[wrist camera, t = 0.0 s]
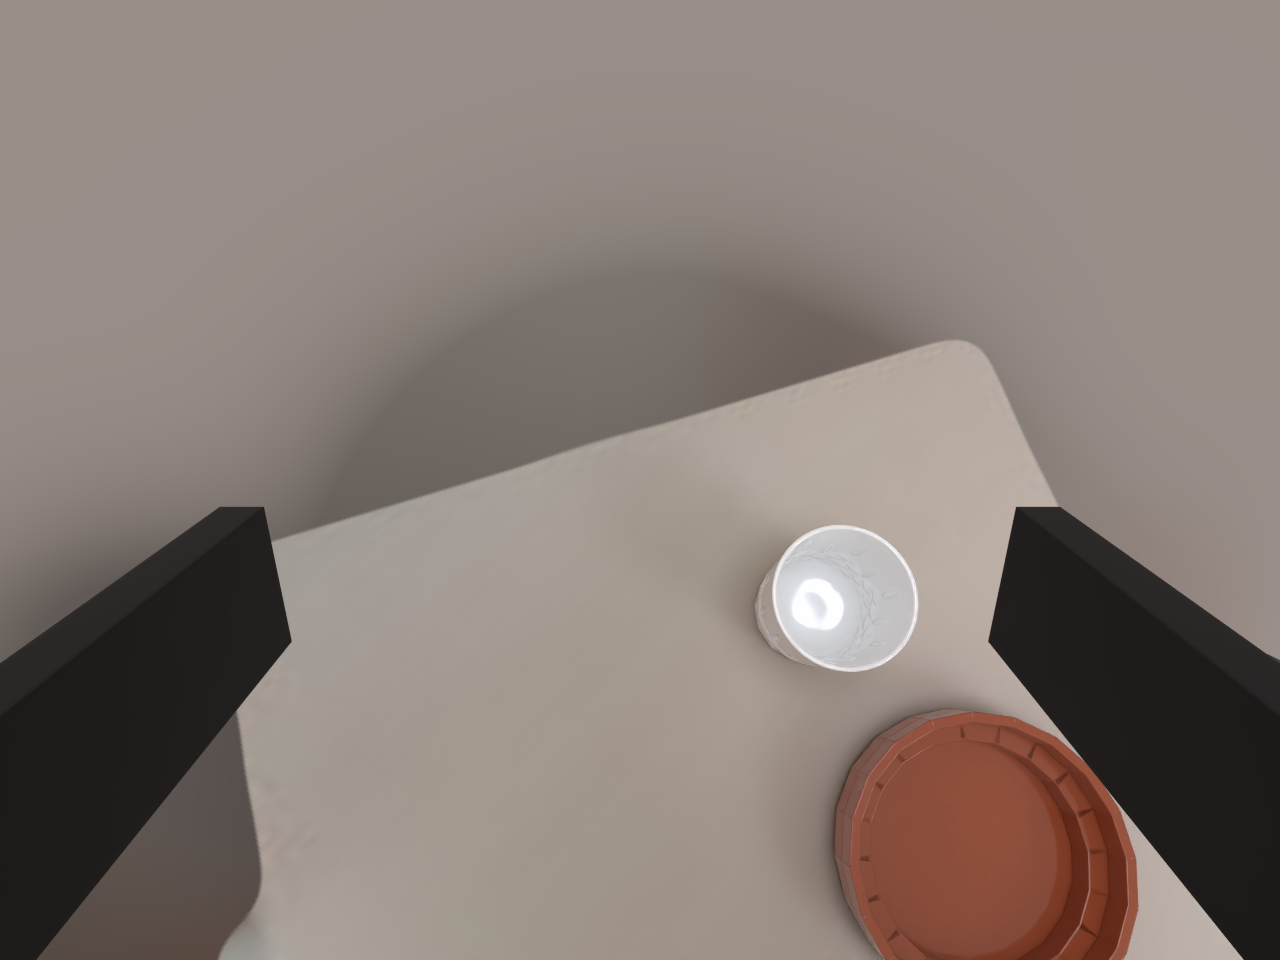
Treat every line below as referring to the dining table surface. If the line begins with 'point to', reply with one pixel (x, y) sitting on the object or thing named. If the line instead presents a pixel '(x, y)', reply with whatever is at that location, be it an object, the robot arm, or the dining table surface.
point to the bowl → (983, 845)
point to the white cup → (838, 600)
